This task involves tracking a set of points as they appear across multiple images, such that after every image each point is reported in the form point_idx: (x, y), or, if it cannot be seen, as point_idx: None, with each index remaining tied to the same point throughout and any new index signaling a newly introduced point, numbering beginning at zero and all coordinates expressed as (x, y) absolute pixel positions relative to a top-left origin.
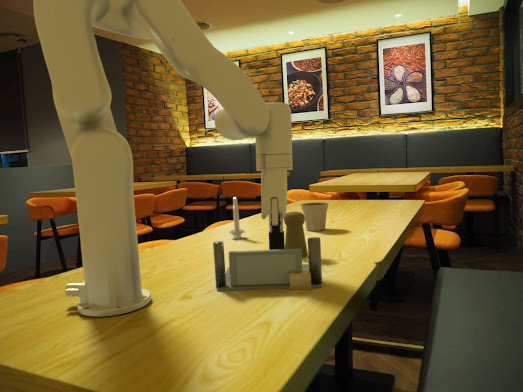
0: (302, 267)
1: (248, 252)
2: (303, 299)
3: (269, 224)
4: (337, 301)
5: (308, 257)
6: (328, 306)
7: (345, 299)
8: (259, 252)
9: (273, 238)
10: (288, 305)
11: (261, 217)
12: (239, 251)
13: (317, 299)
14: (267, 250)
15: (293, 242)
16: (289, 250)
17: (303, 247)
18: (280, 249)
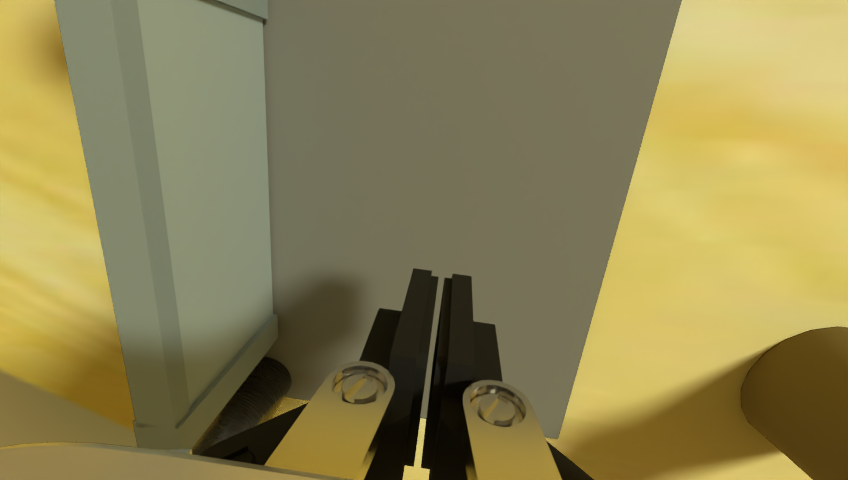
0: (513, 374)
1: (75, 98)
2: (101, 301)
3: (284, 440)
4: (94, 392)
5: (197, 443)
6: (47, 359)
7: (114, 416)
8: (99, 192)
9: (365, 354)
10: (35, 243)
11: (1, 448)
12: (90, 4)
13: (106, 343)
14: (128, 258)
15: (844, 446)
16: (132, 392)
17: (796, 464)
18: (160, 346)
